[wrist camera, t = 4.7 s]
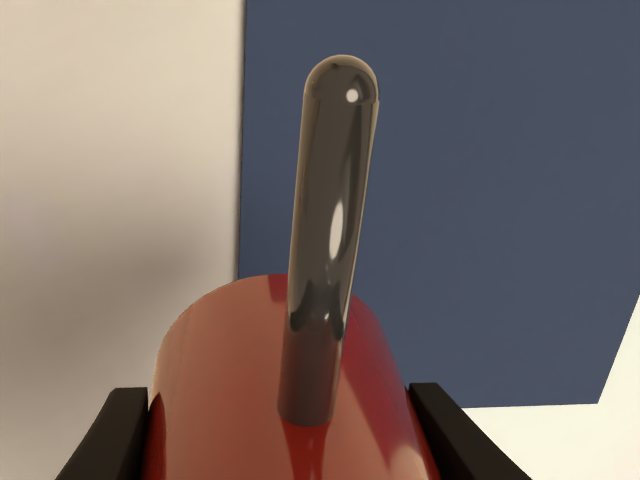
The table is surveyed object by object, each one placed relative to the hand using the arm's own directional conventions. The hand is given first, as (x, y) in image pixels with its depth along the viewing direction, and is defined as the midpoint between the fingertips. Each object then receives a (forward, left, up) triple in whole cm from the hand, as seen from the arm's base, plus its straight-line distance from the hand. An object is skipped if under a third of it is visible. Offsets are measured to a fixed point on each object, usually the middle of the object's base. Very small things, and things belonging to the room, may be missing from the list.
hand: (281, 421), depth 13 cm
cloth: (0, -7, -9) cm, 12 cm away
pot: (+3, 0, -2) cm, 3 cm away
